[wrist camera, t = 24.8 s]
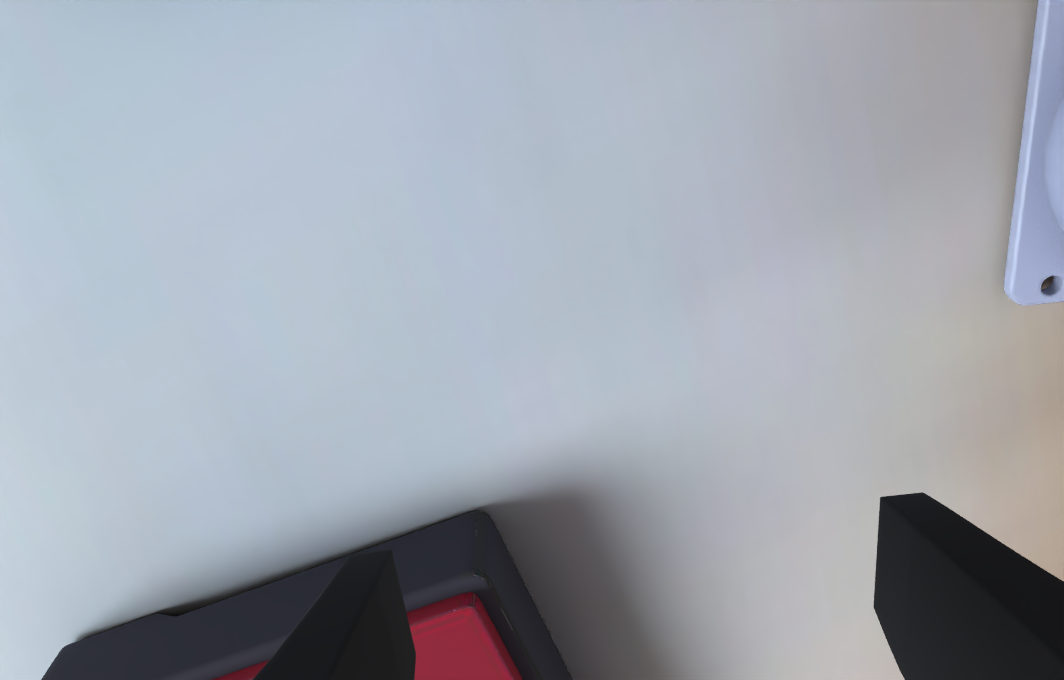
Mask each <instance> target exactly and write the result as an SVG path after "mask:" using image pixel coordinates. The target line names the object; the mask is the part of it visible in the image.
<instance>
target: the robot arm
mask: <svg viewBox="0 0 1064 680" xmlns="http://www.w3.org/2000/svg"><path fill="white" fill-rule="evenodd" d="M1050 276H1053V278H1054V279H1053V282H1052V284H1051V285H1050V286H1049V287H1048V288H1046V289H1043V290H1041V285H1042V282H1043V281H1044V280H1045V279H1046V278H1047V277H1050ZM1004 292H1005V294H1006V295H1007V297H1008V298H1010V299H1011V300H1013V301H1014V302H1016V303H1018V304H1020V305H1036V304H1045V303H1054V302H1064V0H1038V8H1037V16H1036V24H1035V32H1034V41H1033V49H1032V57H1031V65H1030V74H1029V82H1028V90H1027V98H1026V106H1025V115H1024V123H1023V131H1022V139H1021V147H1020V156H1019V164H1018V172H1017V180H1016V188H1015V197H1014V205H1013V213H1012V221H1011V229H1010V238H1009V246H1008V254H1007V262H1006V271H1005V279H1004ZM874 609H875V612H876V614H877V617H878V619H879V621H880V624H881V626H882V629H883V631H884V634H885V636H886V639H887V641H888V644H889V646H890V648H891V651H892V653H893V655H894V658H895V660H896V662H897V664H898V667H899V669H900V671H901V673H902V675H903V677H904V679H905V680H1064V582H1063V581H1062V580H1060V579H1058V578H1057V577H1055V576H1053V575H1052V574H1050V573H1048V572H1047V571H1045V570H1044V569H1042V568H1040V567H1039V566H1037V565H1036V564H1034V563H1032V562H1031V561H1029V560H1028V559H1026V558H1024V557H1023V556H1021V555H1020V554H1018V553H1017V552H1015V551H1014V550H1012V549H1010V548H1009V547H1007V546H1006V545H1004V544H1003V543H1001V542H1000V541H998V540H996V539H995V538H993V537H992V536H990V535H989V534H987V533H986V532H984V531H983V530H981V529H980V528H978V527H977V526H975V525H973V524H972V523H970V522H969V521H967V520H966V519H964V518H963V517H961V516H960V515H958V514H957V513H955V512H954V511H952V510H950V509H949V508H947V507H946V506H944V505H943V504H941V503H939V502H938V501H936V500H935V499H933V498H931V497H930V496H928V495H926V494H925V493H914V494H905V495H895V496H886V497H880V511H879V527H878V544H877V560H876V577H875V593H874ZM415 664H416V651H415V647H414V642H413V638H412V634H411V630H410V626H409V621H408V617H407V613H406V609H405V604H404V600H403V596H402V592H401V588H400V583H399V579H398V575H397V571H396V566H395V562H394V558H393V554H392V550H382V551H373V552H363V553H354V554H351V555H350V556H349V557H348V558H347V560H346V561H345V562H344V563H343V565H342V566H341V567H340V569H339V570H338V571H337V572H336V574H335V575H334V576H333V578H332V579H331V581H330V582H329V583H328V585H327V586H326V587H325V589H324V590H323V591H322V593H321V594H320V595H319V597H318V598H317V599H316V601H315V602H314V603H313V605H312V606H311V607H310V609H309V610H308V611H307V613H306V614H305V615H304V617H303V618H302V619H301V620H300V622H299V623H298V624H297V626H296V627H295V628H294V629H293V631H292V632H291V633H290V634H289V636H288V637H287V638H286V639H285V641H284V642H283V643H282V645H281V646H280V647H279V648H278V650H277V651H276V652H275V653H274V655H273V656H272V657H271V658H270V660H269V661H268V662H267V663H266V664H265V666H264V667H263V668H262V669H261V670H260V672H259V673H258V674H257V675H256V676H255V677H254V678H253V680H414V679H415Z"/></svg>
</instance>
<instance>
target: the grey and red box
mask: <svg viewBox="0 0 1064 680" xmlns="http://www.w3.org/2000/svg"><path fill="white" fill-rule="evenodd" d="M382 550H392V554H393V558H394V562H395V566H396V571H397V575H398V579H399V583H400V588H401V592H402V596H403V600H404V604H405V609H406V613H407V617H408V621H409V626H410V630H411V634H412V638H413V642H414V647H415V651H416V664H415V679H414V680H572V678H571V676H570V674H569V672H568V670H567V668H566V666H565V664H564V662H563V660H562V658H561V656H560V654H559V652H558V650H557V648H556V646H555V644H554V642H553V640H552V638H551V636H550V634H549V632H548V630H547V628H546V626H545V624H544V622H543V620H542V618H541V616H540V614H539V612H538V610H537V608H536V606H535V604H534V602H533V600H532V598H531V596H530V594H529V592H528V590H527V588H526V586H525V584H524V582H523V580H522V578H521V576H520V574H519V572H518V570H517V568H516V566H515V564H514V562H513V560H512V558H511V556H510V554H509V552H508V550H507V548H506V546H505V544H504V542H503V540H502V538H501V536H500V534H499V532H498V530H497V528H496V526H495V524H494V523H493V521H492V519H491V518H490V516H489V515H487V514H486V513H484V512H481V511H474V512H470V513H466V514H464V515H461V516H458V517H455V518H452V519H450V520H447V521H444V522H441V523H438V524H436V525H433V526H430V527H427V528H424V529H422V530H419V531H416V532H413V533H410V534H408V535H405V536H402V537H399V538H396V539H394V540H391V541H388V542H385V543H382V544H380V545H377V546H374V547H371V548H368V549H366V550H363V551H360V552H357V553H363V552H373V551H382ZM349 556H350V555H349ZM349 556H346V557H343V558H340V559H337V560H335V561H332V562H329V563H326V564H323V565H321V566H318V567H315V568H312V569H309V570H307V571H304V572H301V573H298V574H295V575H293V576H290V577H287V578H284V579H281V580H279V581H276V582H273V583H270V584H267V585H265V586H262V587H259V588H256V589H253V590H250V591H248V592H245V593H242V594H239V595H236V596H234V597H231V598H228V599H225V600H222V601H220V602H217V603H214V604H211V605H208V606H206V607H203V608H200V609H197V610H194V611H191V612H188V613H186V614H183V615H180V616H176V617H175V616H170V615H165V614H160V613H156V614H153V615H150V616H147V617H144V618H141V619H139V620H136V621H133V622H130V623H127V624H125V625H122V626H119V627H116V628H113V629H111V630H108V631H105V632H102V633H99V634H97V635H94V636H91V637H88V638H85V639H83V640H80V641H77V642H74V643H72V644H69V645H67V646H65V647H64V648H62V650H61V651H60V652H59V654H58V655H57V657H56V658H55V660H54V661H53V663H52V664H51V666H50V667H49V669H48V670H47V672H46V673H45V675H44V676H43V678H42V679H41V680H253V678H254V677H255V676H256V675H257V674H258V673H259V672H260V670H261V669H262V668H263V667H264V666H265V664H266V663H267V662H268V661H269V660H270V658H271V657H272V656H273V655H274V653H275V652H276V651H277V650H278V648H279V647H280V646H281V645H282V643H283V642H284V641H285V639H286V638H287V637H288V636H289V634H290V633H291V632H292V631H293V629H294V628H295V627H296V626H297V624H298V623H299V622H300V620H301V619H302V618H303V617H304V615H305V614H306V613H307V611H308V610H309V609H310V607H311V606H312V605H313V603H314V602H315V601H316V599H317V598H318V597H319V595H320V594H321V593H322V591H323V590H324V589H325V587H326V586H327V585H328V583H329V582H330V581H331V579H332V578H333V576H334V575H335V574H336V572H337V571H338V570H339V569H340V567H341V566H342V565H343V563H344V562H345V561H346V560H347V558H348V557H349Z"/></svg>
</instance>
